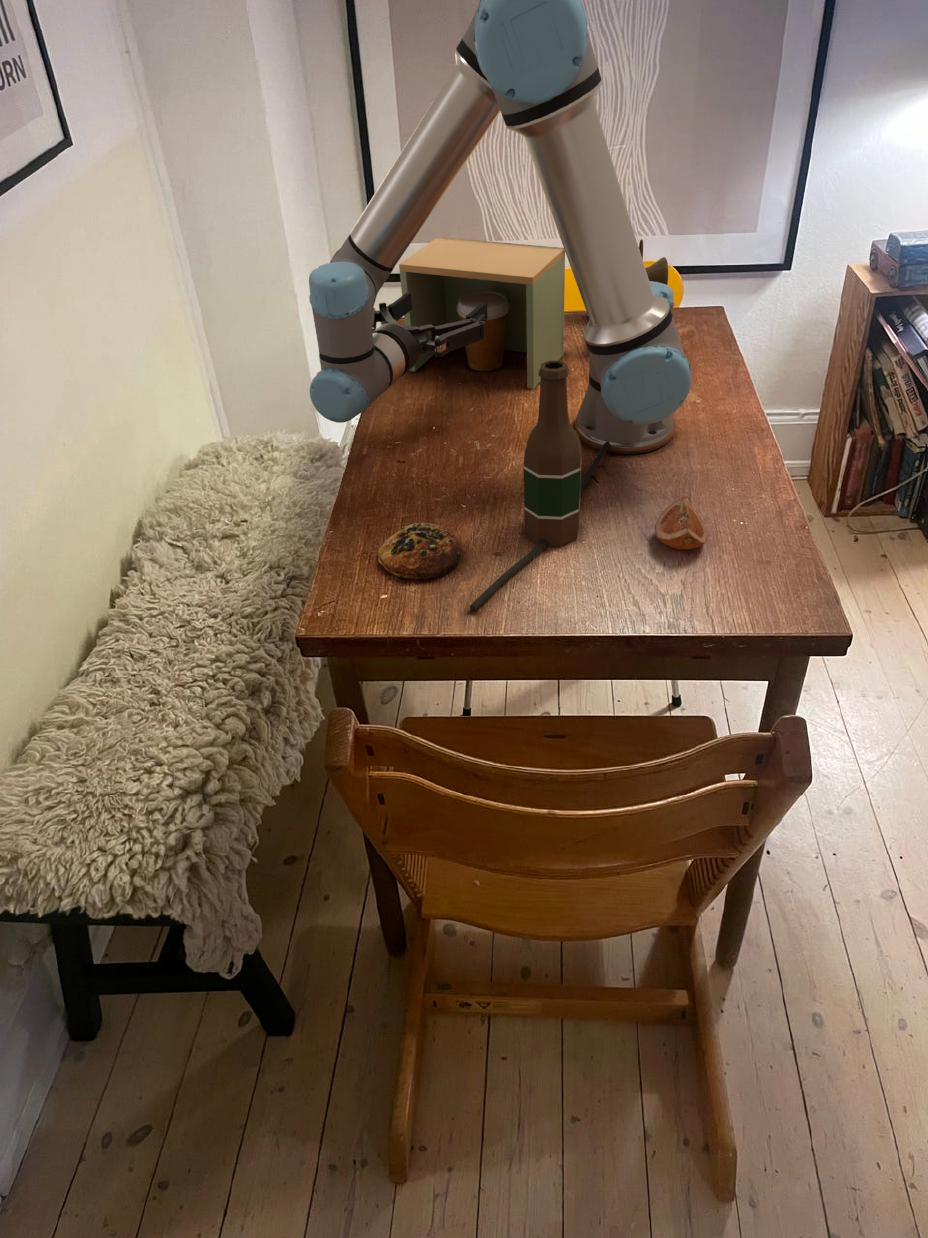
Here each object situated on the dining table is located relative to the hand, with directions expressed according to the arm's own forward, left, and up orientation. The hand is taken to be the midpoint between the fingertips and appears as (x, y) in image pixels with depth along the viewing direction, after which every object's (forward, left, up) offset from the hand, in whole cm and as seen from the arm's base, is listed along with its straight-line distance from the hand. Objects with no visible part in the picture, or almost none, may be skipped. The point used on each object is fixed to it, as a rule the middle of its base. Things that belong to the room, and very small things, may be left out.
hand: (446, 305), depth 148 cm
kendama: (+23, -29, -16) cm, 40 cm away
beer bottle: (-38, -25, -16) cm, 48 cm away
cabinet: (+14, -3, -16) cm, 21 cm away
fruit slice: (-38, -42, -16) cm, 59 cm away
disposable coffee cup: (+14, -3, -16) cm, 21 cm away
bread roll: (-47, -8, -16) cm, 51 cm away
